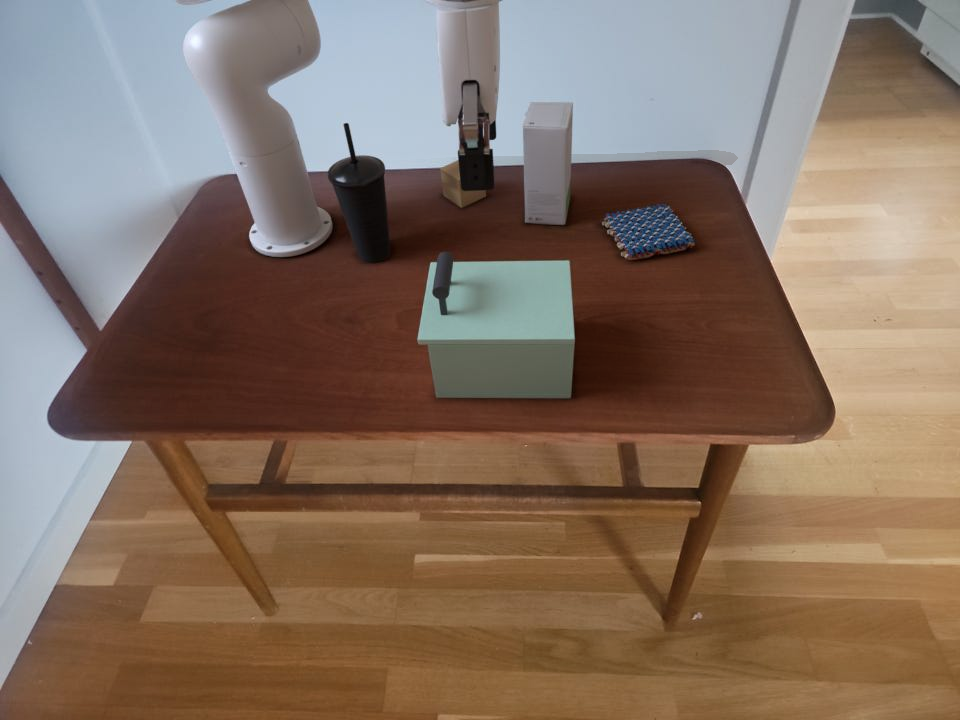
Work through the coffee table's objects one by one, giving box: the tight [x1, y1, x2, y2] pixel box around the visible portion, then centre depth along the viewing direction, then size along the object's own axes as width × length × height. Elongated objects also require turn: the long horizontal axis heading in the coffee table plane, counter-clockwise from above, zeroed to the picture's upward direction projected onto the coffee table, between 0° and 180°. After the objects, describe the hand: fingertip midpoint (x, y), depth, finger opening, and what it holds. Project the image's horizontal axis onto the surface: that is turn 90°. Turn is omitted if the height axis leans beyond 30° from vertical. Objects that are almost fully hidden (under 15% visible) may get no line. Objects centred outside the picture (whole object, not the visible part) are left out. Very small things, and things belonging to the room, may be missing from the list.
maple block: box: [439, 159, 487, 209], centre depth 103 cm, size 5×5×5 cm
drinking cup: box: [327, 122, 391, 264], centre depth 88 cm, size 8×8×20 cm
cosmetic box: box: [522, 101, 574, 226], centre depth 95 cm, size 8×7×16 cm
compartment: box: [427, 344, 575, 399], centre depth 76 cm, size 16×13×9 cm
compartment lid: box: [417, 251, 576, 345], centre depth 71 cm, size 17×13×5 cm
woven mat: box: [601, 203, 696, 261], centre depth 93 cm, size 10×11×2 cm
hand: (479, 162), depth 65 cm, fingers open, 9 cm apart
